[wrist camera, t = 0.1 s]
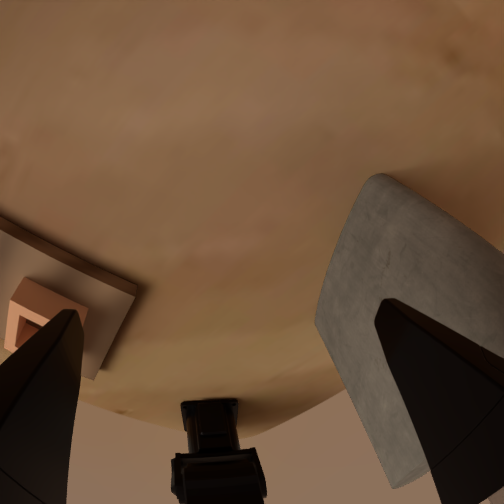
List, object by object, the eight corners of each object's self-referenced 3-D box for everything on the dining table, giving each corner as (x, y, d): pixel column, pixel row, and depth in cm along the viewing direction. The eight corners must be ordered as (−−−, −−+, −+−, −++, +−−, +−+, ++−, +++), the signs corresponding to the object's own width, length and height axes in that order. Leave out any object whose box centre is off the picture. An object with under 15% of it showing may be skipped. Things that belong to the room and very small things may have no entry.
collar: (88, 308, 23) (80, 334, 20) (72, 352, 25) (65, 376, 22) (24, 276, 20) (9, 299, 18) (15, 325, 22) (4, 348, 20)
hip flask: (338, 329, 31) (429, 506, 14) (302, 329, 30) (385, 525, 13) (398, 178, 24) (600, 336, 7) (358, 167, 23) (584, 349, 6)
